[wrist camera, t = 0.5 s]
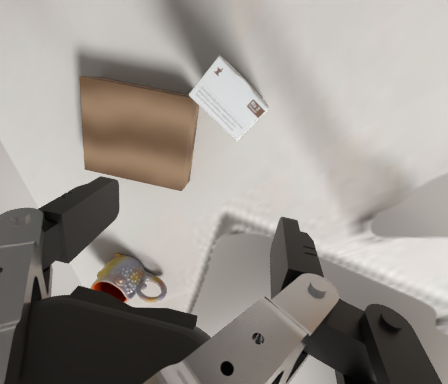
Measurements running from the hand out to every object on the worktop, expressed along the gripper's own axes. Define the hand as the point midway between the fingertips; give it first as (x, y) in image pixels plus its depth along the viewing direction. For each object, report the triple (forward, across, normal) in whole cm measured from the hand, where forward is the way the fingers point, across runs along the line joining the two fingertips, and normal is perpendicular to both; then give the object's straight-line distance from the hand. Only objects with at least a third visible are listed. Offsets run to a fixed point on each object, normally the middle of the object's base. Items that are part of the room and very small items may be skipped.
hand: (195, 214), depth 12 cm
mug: (+23, +13, +29) cm, 39 cm away
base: (+24, +13, +3) cm, 27 cm away
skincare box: (+24, +1, -4) cm, 24 cm away
